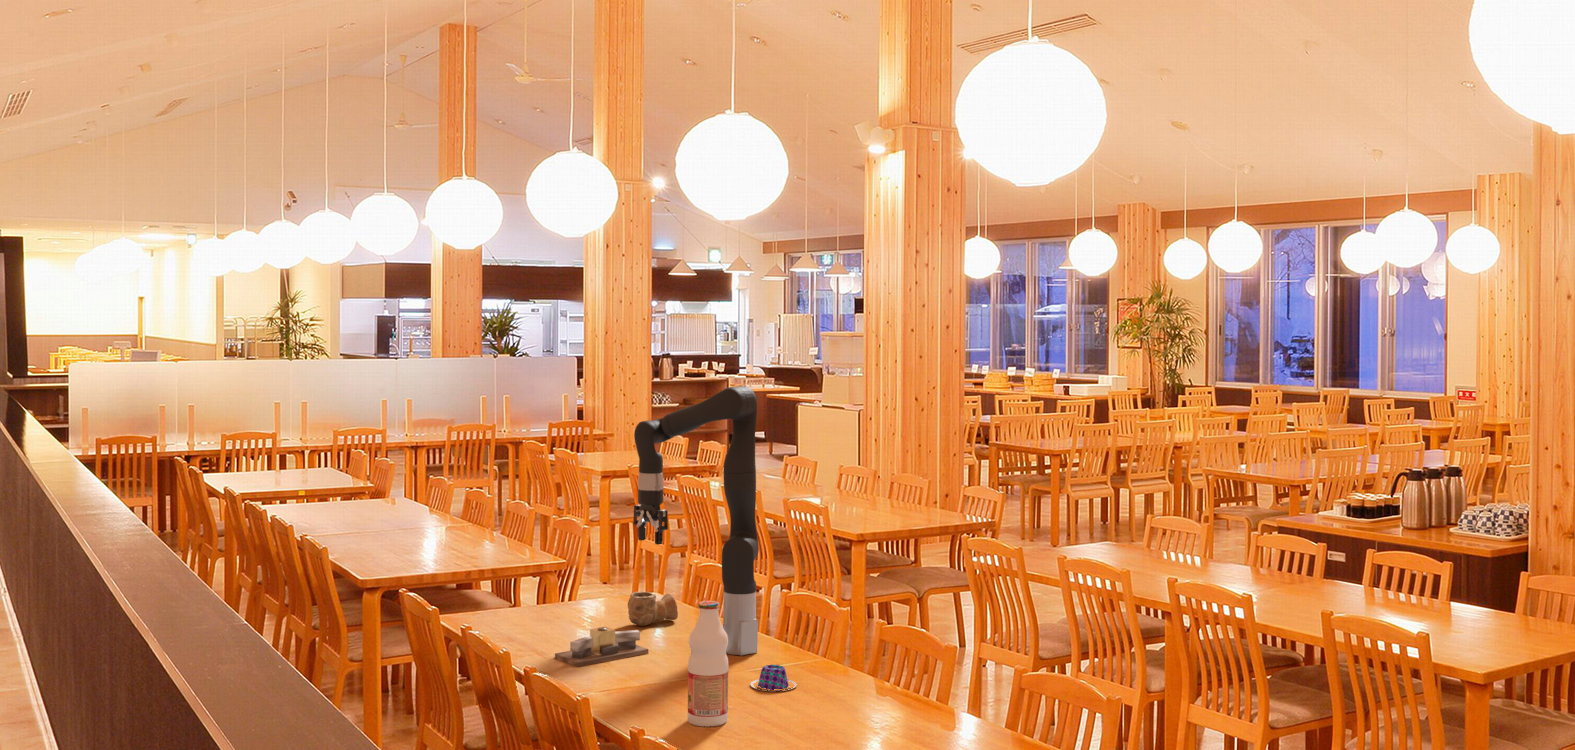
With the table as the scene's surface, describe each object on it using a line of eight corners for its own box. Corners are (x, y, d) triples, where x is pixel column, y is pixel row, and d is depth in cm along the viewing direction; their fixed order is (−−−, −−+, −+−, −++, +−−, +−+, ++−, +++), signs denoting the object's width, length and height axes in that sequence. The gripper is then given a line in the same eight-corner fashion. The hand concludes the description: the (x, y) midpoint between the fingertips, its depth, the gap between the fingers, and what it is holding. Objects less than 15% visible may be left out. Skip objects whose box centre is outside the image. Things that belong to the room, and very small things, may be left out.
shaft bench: (648, 653, 358) (648, 632, 358) (578, 666, 343) (578, 645, 343) (624, 644, 367) (624, 624, 367) (554, 657, 352) (555, 636, 352)
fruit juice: (706, 730, 291) (708, 608, 290) (679, 721, 298) (680, 602, 297) (736, 721, 298) (737, 602, 297) (708, 712, 305) (709, 596, 304)
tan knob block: (615, 651, 355) (615, 628, 355) (599, 654, 352) (600, 631, 352) (605, 647, 359) (605, 625, 359) (590, 650, 356) (590, 628, 355)
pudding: (805, 685, 330) (805, 665, 330) (781, 696, 320) (782, 676, 319) (765, 678, 336) (765, 658, 336) (741, 689, 326) (741, 669, 325)
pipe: (682, 623, 396) (682, 591, 395) (639, 630, 385) (639, 598, 384) (665, 617, 402) (665, 586, 402) (622, 625, 392) (622, 593, 391)
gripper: (626, 486, 379) (626, 540, 380) (654, 491, 368) (653, 546, 369) (647, 484, 384) (646, 537, 385) (675, 489, 373) (674, 544, 374)
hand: (650, 542), depth 377 cm, fingers open, 8 cm apart
